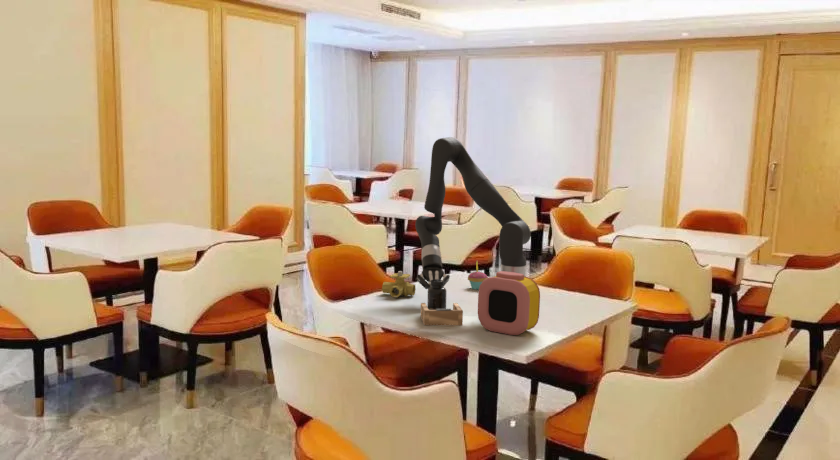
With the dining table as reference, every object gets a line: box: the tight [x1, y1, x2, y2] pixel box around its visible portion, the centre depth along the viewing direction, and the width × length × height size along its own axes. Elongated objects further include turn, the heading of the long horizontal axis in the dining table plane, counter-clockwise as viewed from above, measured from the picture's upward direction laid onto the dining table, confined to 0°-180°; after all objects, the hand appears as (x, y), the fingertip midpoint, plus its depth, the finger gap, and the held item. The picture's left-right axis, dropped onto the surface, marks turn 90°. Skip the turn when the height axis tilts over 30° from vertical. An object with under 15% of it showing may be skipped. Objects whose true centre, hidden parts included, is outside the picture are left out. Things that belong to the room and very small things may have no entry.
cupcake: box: [467, 261, 489, 290], centre depth 310 cm, size 9×8×12 cm
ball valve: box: [381, 270, 416, 298], centre depth 291 cm, size 13×10×10 cm
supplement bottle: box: [426, 279, 447, 310], centre depth 265 cm, size 7×7×12 cm
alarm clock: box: [477, 270, 541, 336], centre depth 243 cm, size 18×11×19 cm, turn 56°
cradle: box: [420, 302, 464, 326], centre depth 254 cm, size 12×13×5 cm
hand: (434, 297), depth 270 cm, fingers closed
